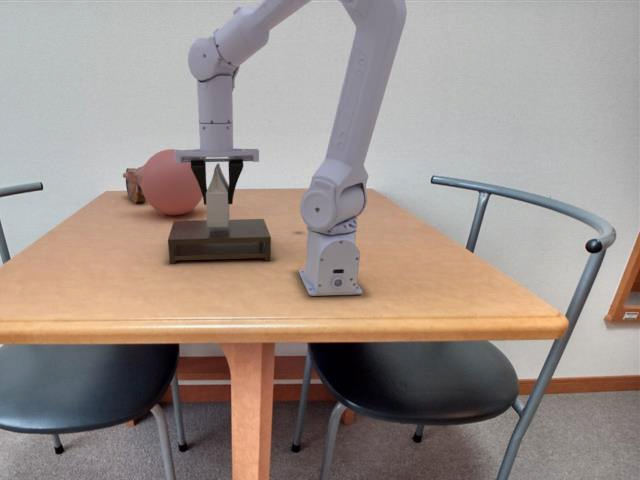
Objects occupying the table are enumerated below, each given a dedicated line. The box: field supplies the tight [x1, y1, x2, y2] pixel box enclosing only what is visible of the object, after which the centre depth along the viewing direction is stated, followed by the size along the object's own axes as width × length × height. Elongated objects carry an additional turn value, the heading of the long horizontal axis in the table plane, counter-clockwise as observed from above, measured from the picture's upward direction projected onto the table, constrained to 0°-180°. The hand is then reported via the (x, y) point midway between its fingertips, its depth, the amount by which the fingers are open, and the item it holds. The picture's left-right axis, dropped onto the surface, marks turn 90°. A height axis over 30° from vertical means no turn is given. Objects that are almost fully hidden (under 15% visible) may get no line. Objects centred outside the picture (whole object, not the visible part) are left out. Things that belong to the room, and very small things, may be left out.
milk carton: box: [205, 162, 231, 227], centre depth 78 cm, size 4×7×10 cm, turn 179°
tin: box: [125, 167, 147, 204], centre depth 121 cm, size 15×3×8 cm, turn 25°
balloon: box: [122, 148, 203, 216], centre depth 105 cm, size 15×20×15 cm
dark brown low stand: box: [167, 218, 272, 265], centre depth 82 cm, size 12×18×4 cm, turn 93°
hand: (218, 203), depth 79 cm, fingers closed on milk carton, 4 cm apart
